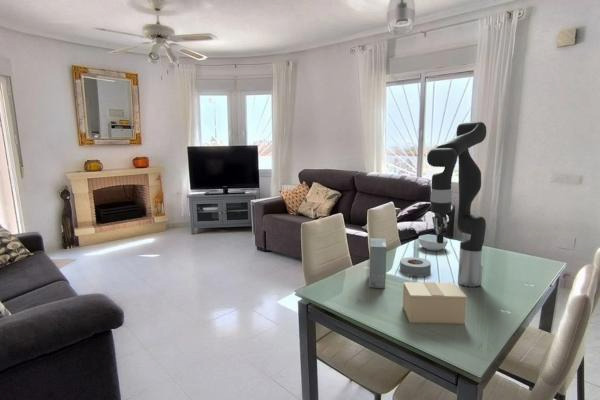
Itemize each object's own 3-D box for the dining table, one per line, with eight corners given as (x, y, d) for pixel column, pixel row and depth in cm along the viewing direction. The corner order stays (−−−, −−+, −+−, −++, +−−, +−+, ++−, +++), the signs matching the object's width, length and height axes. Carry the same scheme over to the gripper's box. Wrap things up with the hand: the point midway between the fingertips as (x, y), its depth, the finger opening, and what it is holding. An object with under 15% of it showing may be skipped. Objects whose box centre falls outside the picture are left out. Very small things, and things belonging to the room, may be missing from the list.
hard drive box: (385, 288, 158) (386, 247, 154) (368, 287, 159) (369, 246, 156) (384, 276, 173) (385, 238, 169) (368, 275, 174) (369, 237, 171)
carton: (453, 308, 138) (454, 285, 136) (464, 324, 126) (466, 298, 125) (402, 307, 140) (403, 284, 138) (409, 322, 128) (410, 297, 126)
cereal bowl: (420, 252, 209) (421, 241, 207) (416, 244, 225) (416, 234, 224) (450, 253, 206) (450, 242, 205) (443, 245, 222) (444, 235, 221)
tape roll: (398, 274, 176) (398, 264, 175) (401, 264, 190) (401, 255, 189) (430, 278, 170) (430, 268, 169) (430, 267, 184) (431, 258, 183)
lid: (454, 285, 136) (454, 282, 136) (466, 298, 124) (466, 296, 124) (403, 284, 138) (403, 281, 138) (410, 297, 126) (410, 294, 126)
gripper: (457, 203, 126) (455, 247, 129) (444, 196, 139) (443, 237, 142) (436, 203, 126) (435, 248, 129) (426, 197, 139) (425, 238, 142)
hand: (439, 242), depth 136 cm, fingers closed
